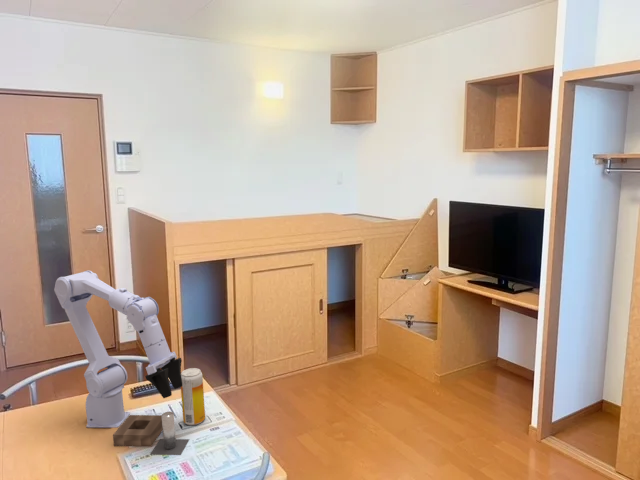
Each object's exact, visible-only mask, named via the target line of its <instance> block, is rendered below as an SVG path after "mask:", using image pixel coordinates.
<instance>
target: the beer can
mask: <svg viewBox="0 0 640 480" xmlns="http://www.w3.org/2000/svg"><path fill="white" fill-rule="evenodd" d="M181 377H182V387H180V395H181V408H182V409H181V411H182V421H183V423H184V424H186V425H187V426H197V425H200V424H201V423H203V422H204V420H205V419H206V410H205V407H206V406H205V396H204V395H205V394H204V393H205V392H204V381H203V373H202V371H201V369H200V368H196V367H191V368H190V367H189V368H187V369H184V370H181Z"/></svg>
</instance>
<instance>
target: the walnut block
mask: <svg viewBox="0 0 640 480" xmlns="http://www.w3.org/2000/svg"><path fill="white" fill-rule="evenodd" d="M161 415H162V414H161ZM161 415H158V414H150V415H149V414H148V415H147V414H144V415H143V414H130V415H129V416H128V417H127V418H126V419H125V421H124V422H123V423H122V424H121V425H120V427H118V428H116V430H115V432H114V433H113V434H112V440H113V446H114V447H137V448H138V447H140V448H141V447H142V448H143V447H144V448H145V447H147V448H149V447H150V448H151V447H152V446H153V445H154V444H155V442H156V440H157V439H158V438H159V436H160V435H161V433H163V428H162V416H161Z"/></svg>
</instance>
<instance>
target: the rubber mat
mask: <svg viewBox="0 0 640 480" xmlns="http://www.w3.org/2000/svg"><path fill="white" fill-rule="evenodd" d="M189 441H190V438H187V439H186V438H176V447H175V448H174V449H172V450H165V449H164V440H163V438H160V439H159V440H158V441H157V444H156V445H155V446H154V448H153V449H152V450H151V452H150V453H149V456H150V455H151V456H161V455H162V456H182V454H183V452H184V450H185V449H186V447H187V444H188V443H189Z"/></svg>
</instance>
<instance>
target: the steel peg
mask: <svg viewBox="0 0 640 480" xmlns="http://www.w3.org/2000/svg"><path fill="white" fill-rule="evenodd" d="M161 416H162V428H163V430H162V437H163V438H162V439H163V440H164V449H165V450H172V449H174V448H175V447H176V439H177V438H176V426H175V425H176V424H175V415H174V412H173V411H166V412H162V413H161Z"/></svg>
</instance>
